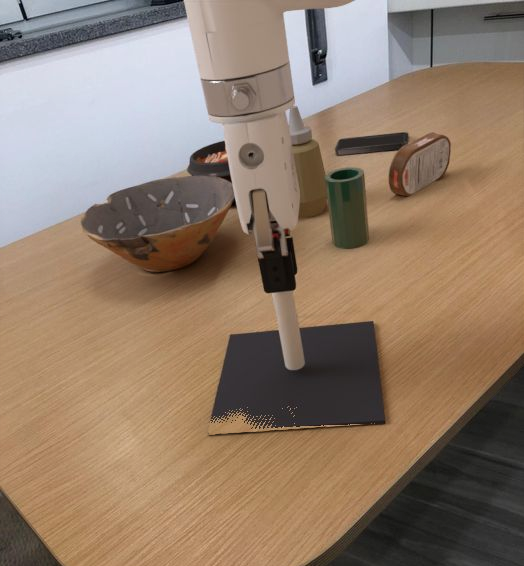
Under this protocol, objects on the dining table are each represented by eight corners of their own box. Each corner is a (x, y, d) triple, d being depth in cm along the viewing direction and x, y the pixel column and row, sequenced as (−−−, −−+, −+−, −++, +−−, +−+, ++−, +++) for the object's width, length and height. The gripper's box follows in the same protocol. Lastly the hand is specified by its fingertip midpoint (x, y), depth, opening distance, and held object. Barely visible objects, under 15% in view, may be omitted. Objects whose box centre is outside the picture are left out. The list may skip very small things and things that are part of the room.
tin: (438, 172, 110) (438, 125, 106) (454, 174, 108) (454, 126, 103) (387, 202, 103) (385, 153, 98) (403, 205, 101) (401, 155, 96)
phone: (406, 143, 123) (334, 150, 127) (407, 148, 123) (334, 155, 128) (408, 131, 129) (339, 138, 133) (408, 136, 129) (339, 143, 134)
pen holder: (368, 233, 94) (363, 165, 88) (370, 249, 90) (365, 178, 83) (332, 238, 95) (324, 170, 89) (333, 254, 91) (324, 183, 84)
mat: (373, 324, 73) (373, 320, 73) (385, 424, 59) (385, 420, 59) (230, 337, 76) (230, 334, 76) (208, 435, 62) (207, 432, 62)
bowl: (228, 294, 86) (213, 230, 80) (74, 303, 92) (50, 244, 86) (260, 221, 106) (249, 165, 100) (131, 232, 112) (115, 180, 106)
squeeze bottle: (296, 203, 110) (281, 101, 99) (337, 204, 106) (326, 98, 96) (277, 222, 104) (259, 115, 94) (321, 224, 100) (307, 113, 90)
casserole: (161, 212, 118) (149, 170, 113) (198, 177, 132) (189, 139, 127) (280, 208, 109) (273, 163, 104) (307, 171, 123) (302, 129, 118)
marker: (306, 357, 68) (285, 225, 59) (305, 370, 66) (283, 236, 57) (285, 358, 68) (261, 228, 59) (283, 371, 66) (258, 239, 57)
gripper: (287, 110, 43) (317, 322, 54) (296, 66, 56) (319, 243, 67) (188, 125, 45) (235, 330, 55) (219, 79, 58) (253, 251, 68)
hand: (281, 281), depth 61 cm, fingers closed on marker, 2 cm apart
